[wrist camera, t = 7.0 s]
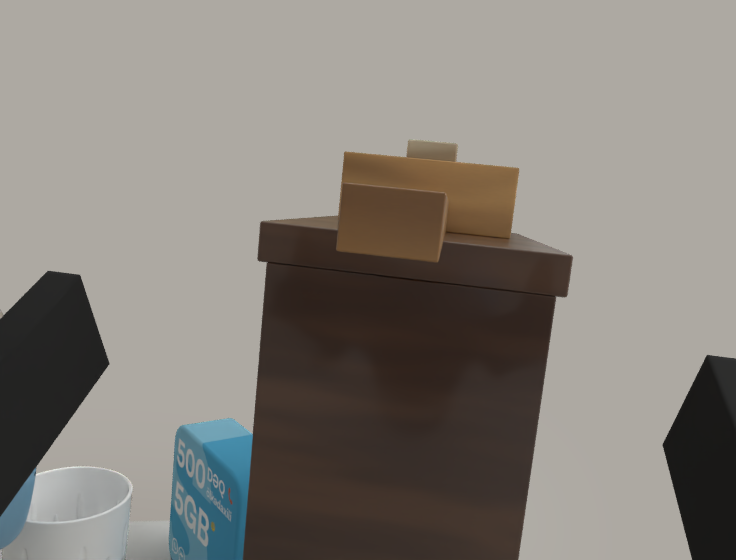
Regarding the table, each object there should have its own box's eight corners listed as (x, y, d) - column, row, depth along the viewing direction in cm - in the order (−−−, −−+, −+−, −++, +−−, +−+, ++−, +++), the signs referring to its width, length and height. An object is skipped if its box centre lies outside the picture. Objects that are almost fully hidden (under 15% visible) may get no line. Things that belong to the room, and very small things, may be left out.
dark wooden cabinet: (472, 943, 26) (573, 255, 23) (207, 878, 28) (259, 220, 24) (463, 638, 45) (518, 233, 41) (305, 609, 47) (343, 215, 43)
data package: (166, 556, 51) (175, 419, 50) (217, 542, 54) (226, 412, 53) (228, 646, 42) (241, 481, 40) (285, 623, 45) (299, 468, 43)
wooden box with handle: (586, 280, 14) (619, 66, 13) (200, 236, 15) (214, 37, 14) (496, 231, 41) (505, 162, 41) (364, 217, 42) (370, 149, 42)
